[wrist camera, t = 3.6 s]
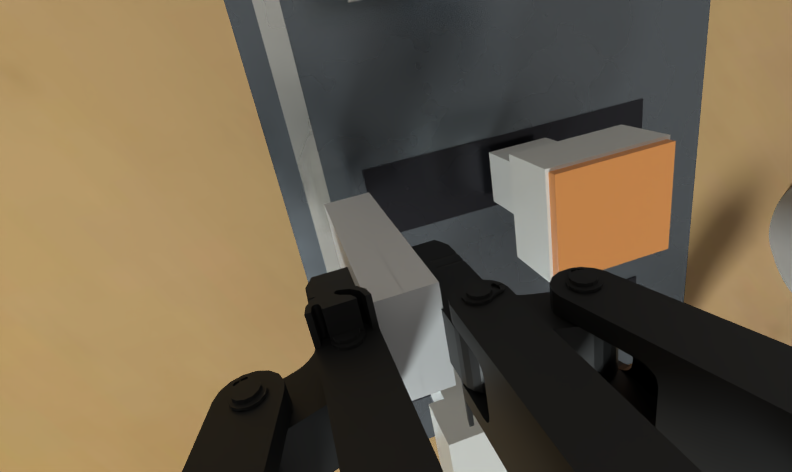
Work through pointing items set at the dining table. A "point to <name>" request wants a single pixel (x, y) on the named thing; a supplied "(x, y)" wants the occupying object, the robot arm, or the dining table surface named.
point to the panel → (464, 112)
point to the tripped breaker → (587, 197)
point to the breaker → (460, 434)
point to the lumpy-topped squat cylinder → (782, 237)
